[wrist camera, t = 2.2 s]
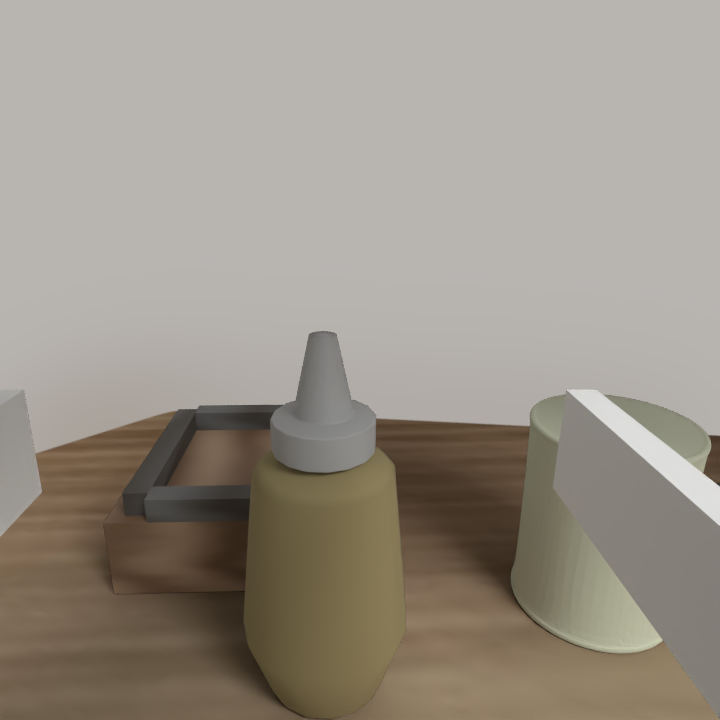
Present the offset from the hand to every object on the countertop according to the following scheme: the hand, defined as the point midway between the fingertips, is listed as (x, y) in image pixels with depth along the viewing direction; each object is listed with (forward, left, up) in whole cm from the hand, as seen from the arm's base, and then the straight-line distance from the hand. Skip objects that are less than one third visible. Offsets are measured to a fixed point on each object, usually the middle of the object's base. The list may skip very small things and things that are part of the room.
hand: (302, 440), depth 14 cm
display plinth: (+5, -23, -18) cm, 30 cm away
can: (-16, -15, -18) cm, 29 cm away
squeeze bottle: (0, -10, -18) cm, 21 cm away
